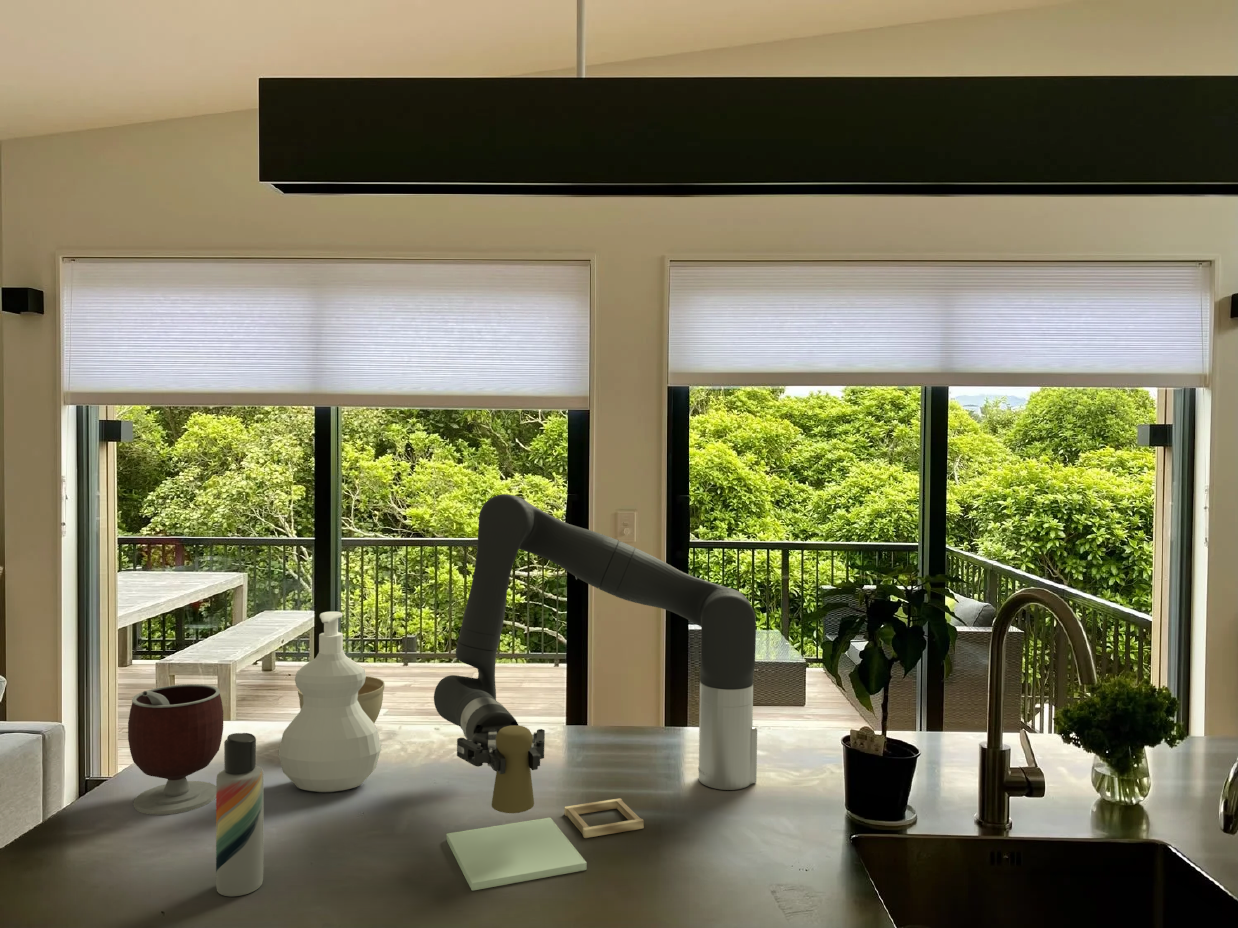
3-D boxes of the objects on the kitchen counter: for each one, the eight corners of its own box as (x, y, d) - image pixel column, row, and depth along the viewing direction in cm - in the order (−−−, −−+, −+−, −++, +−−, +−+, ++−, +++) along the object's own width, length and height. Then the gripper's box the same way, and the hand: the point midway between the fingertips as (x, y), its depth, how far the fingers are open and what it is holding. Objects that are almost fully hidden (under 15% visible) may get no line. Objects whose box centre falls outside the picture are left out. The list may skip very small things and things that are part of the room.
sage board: (550, 823, 139) (550, 817, 139) (586, 869, 124) (586, 862, 124) (446, 840, 132) (446, 833, 132) (471, 890, 118) (471, 882, 118)
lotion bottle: (225, 876, 121) (225, 728, 120) (268, 875, 121) (269, 727, 121) (209, 898, 115) (209, 742, 114) (255, 896, 115) (255, 741, 115)
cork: (526, 815, 125) (528, 736, 124) (485, 810, 126) (486, 732, 125) (539, 797, 130) (541, 722, 130) (499, 793, 132) (501, 719, 131)
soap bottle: (268, 799, 147) (268, 619, 146) (290, 773, 158) (291, 606, 158) (373, 798, 148) (374, 619, 147) (387, 772, 159) (388, 606, 158)
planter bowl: (357, 722, 187) (357, 670, 187) (400, 741, 176) (400, 685, 176) (282, 740, 176) (283, 684, 175) (323, 761, 164) (323, 702, 164)
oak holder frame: (620, 805, 146) (620, 798, 146) (643, 828, 137) (643, 820, 137) (564, 814, 142) (564, 806, 142) (584, 837, 134) (584, 829, 134)
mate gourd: (161, 781, 154) (161, 664, 153) (239, 784, 153) (239, 667, 152) (101, 818, 138) (101, 689, 138) (187, 823, 137) (188, 692, 137)
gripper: (443, 707, 138) (469, 743, 122) (533, 699, 144) (568, 732, 128) (443, 755, 138) (468, 798, 123) (532, 745, 144) (567, 785, 128)
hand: (519, 764), depth 125 cm, fingers closed on cork, 4 cm apart
